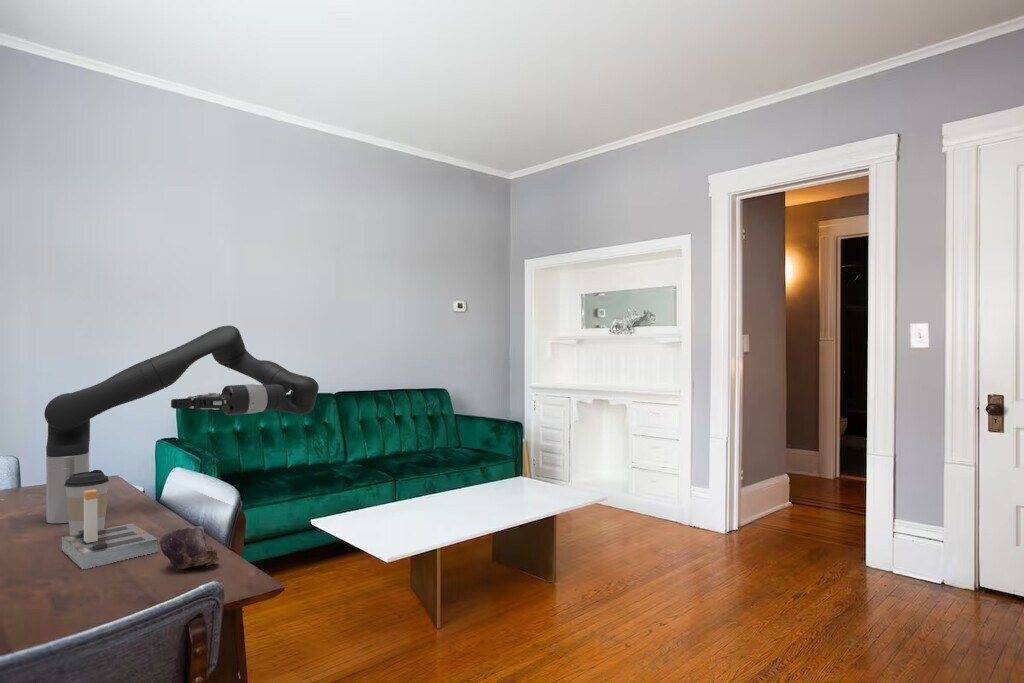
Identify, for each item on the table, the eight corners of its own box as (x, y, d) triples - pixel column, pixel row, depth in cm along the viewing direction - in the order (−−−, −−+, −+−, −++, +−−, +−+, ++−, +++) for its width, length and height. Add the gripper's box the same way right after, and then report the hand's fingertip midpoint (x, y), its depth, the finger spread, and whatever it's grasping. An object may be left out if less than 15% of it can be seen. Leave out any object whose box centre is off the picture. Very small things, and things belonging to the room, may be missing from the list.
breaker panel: (61, 550, 139) (61, 532, 139) (132, 535, 149) (132, 519, 149) (82, 569, 126) (82, 550, 126) (157, 552, 137) (157, 534, 137)
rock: (204, 560, 135) (153, 570, 128) (203, 520, 137) (152, 528, 130) (223, 565, 127) (169, 576, 120) (222, 522, 128) (169, 531, 121)
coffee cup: (86, 540, 145) (86, 477, 145) (54, 538, 147) (54, 475, 147) (118, 529, 154) (117, 469, 154) (87, 527, 156) (87, 468, 156)
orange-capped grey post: (83, 540, 135) (83, 490, 135) (94, 538, 137) (94, 489, 137) (86, 543, 133) (86, 492, 133) (97, 540, 135) (97, 491, 135)
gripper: (256, 415, 155) (182, 422, 143) (233, 411, 164) (162, 417, 152) (256, 385, 155) (182, 389, 143) (233, 383, 164) (162, 387, 152)
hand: (172, 403), depth 147 cm, fingers closed
